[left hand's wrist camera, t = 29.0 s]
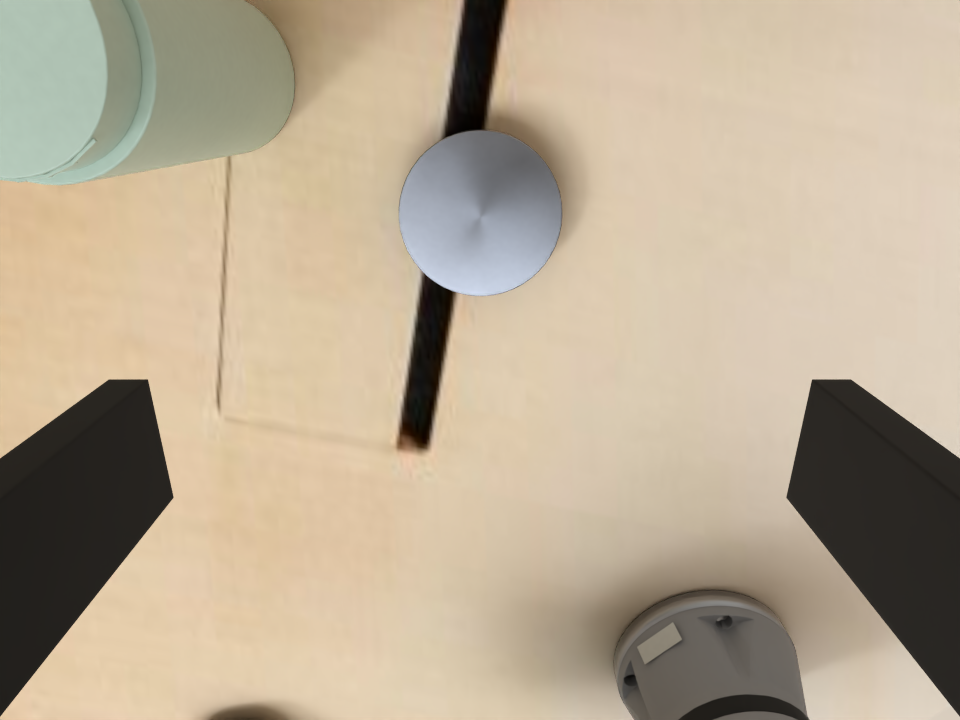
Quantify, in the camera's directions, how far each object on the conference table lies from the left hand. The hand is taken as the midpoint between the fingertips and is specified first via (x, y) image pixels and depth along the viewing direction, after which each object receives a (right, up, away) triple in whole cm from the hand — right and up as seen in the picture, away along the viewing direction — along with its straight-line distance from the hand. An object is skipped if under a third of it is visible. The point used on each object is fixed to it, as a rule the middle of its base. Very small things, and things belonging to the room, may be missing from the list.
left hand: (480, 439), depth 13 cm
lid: (0, +11, +26) cm, 28 cm away
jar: (-16, +19, +25) cm, 35 cm away
